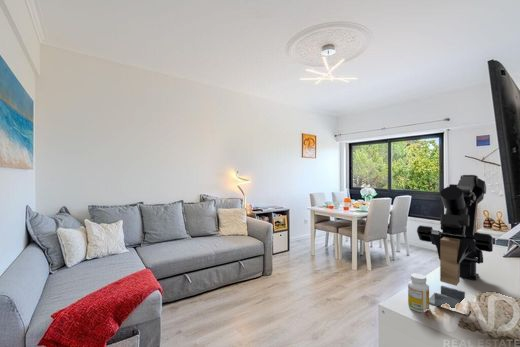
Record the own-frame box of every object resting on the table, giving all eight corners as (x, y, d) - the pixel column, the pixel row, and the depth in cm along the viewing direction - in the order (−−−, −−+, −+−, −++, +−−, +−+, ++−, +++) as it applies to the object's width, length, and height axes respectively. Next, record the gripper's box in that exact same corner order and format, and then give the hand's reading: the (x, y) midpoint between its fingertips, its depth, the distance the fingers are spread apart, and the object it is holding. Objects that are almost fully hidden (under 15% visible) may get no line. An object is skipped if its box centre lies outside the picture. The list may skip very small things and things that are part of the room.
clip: (434, 293, 84) (434, 283, 84) (473, 305, 77) (473, 294, 77) (426, 302, 79) (426, 291, 79) (467, 316, 71) (467, 303, 71)
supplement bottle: (421, 302, 79) (421, 271, 79) (433, 312, 74) (433, 279, 73) (404, 303, 79) (404, 272, 79) (415, 313, 73) (415, 280, 73)
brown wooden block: (443, 277, 81) (443, 236, 80) (459, 281, 78) (459, 239, 77) (440, 281, 78) (440, 239, 78) (456, 285, 75) (456, 242, 75)
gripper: (418, 201, 87) (408, 240, 79) (492, 206, 73) (488, 254, 66) (424, 220, 92) (415, 259, 85) (494, 229, 79) (491, 275, 72)
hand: (448, 261), depth 77 cm, fingers closed on brown wooden block, 4 cm apart
